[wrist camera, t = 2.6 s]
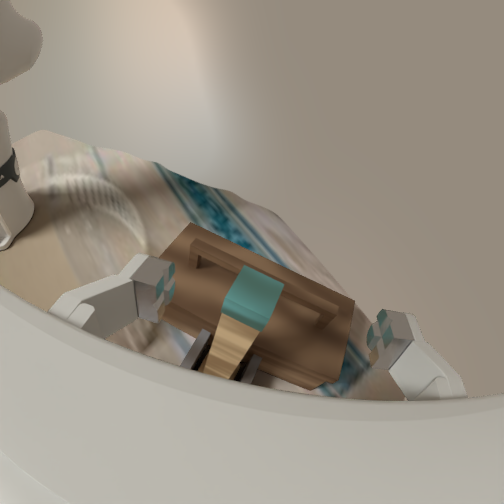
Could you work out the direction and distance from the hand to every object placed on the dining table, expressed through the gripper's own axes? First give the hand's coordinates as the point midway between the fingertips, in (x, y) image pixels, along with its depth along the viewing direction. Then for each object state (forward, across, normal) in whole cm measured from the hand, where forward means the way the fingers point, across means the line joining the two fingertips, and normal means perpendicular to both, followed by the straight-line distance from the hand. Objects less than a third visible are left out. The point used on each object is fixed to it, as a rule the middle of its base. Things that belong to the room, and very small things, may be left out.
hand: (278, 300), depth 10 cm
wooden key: (+12, +3, +26) cm, 28 cm away
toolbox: (+17, +2, +24) cm, 30 cm away
